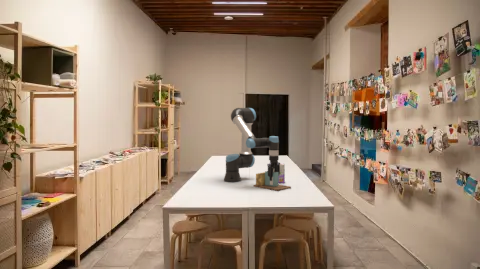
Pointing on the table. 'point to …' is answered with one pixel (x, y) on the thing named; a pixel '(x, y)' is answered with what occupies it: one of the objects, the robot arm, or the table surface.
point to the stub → (275, 179)
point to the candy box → (281, 174)
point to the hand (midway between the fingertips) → (273, 184)
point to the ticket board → (261, 184)
